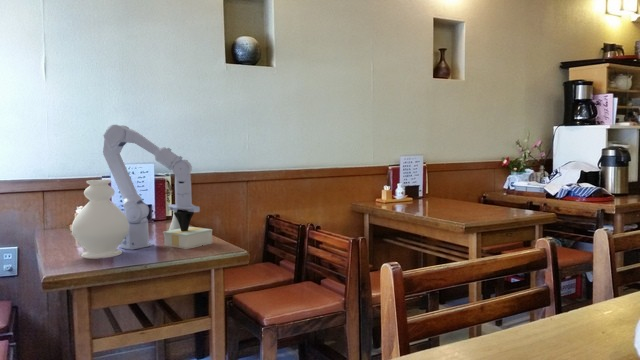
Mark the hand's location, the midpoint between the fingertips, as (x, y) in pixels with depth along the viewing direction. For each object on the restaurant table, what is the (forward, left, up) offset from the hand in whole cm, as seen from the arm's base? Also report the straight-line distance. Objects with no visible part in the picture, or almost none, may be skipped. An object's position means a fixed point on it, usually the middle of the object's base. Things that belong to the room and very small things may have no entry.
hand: (184, 230), depth 189 cm
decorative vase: (-25, +12, -6) cm, 29 cm away
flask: (+16, +23, -6) cm, 28 cm away
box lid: (+1, 0, -1) cm, 2 cm away
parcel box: (+2, 0, -5) cm, 5 cm away
